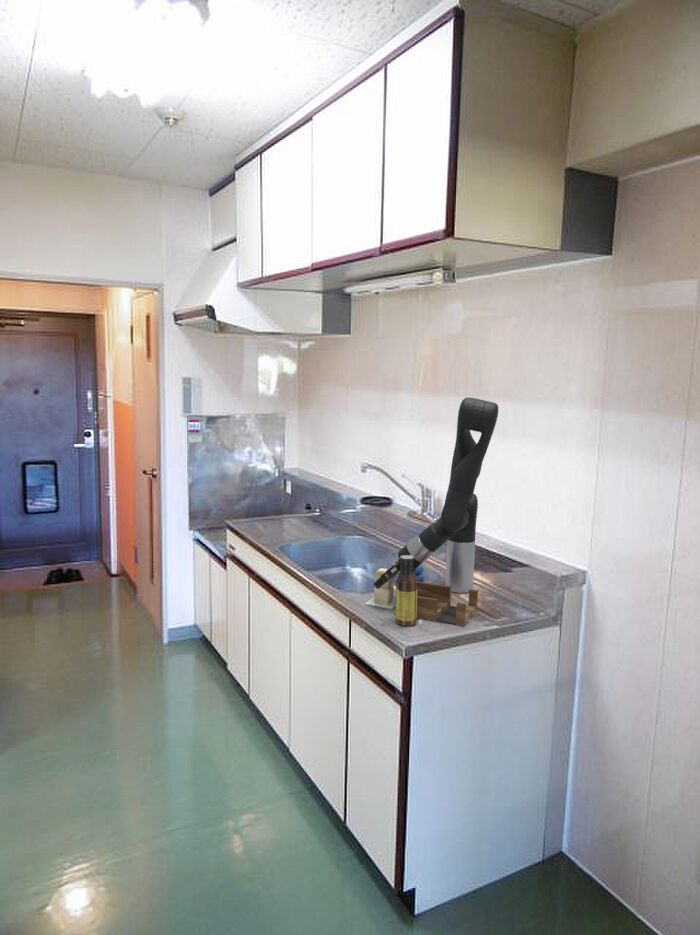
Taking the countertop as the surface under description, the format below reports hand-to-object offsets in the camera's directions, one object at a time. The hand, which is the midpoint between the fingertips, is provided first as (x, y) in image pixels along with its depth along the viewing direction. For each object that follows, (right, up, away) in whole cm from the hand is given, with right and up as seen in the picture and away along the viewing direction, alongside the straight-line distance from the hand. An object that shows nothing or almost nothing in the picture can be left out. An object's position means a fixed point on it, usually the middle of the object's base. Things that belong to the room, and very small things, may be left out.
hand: (380, 582), depth 211 cm
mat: (+1, -6, 0) cm, 6 cm away
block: (+1, -6, 0) cm, 6 cm away
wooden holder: (+16, -8, -8) cm, 20 cm away
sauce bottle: (+6, -9, -18) cm, 21 cm away
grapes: (+12, -6, +11) cm, 17 cm away
